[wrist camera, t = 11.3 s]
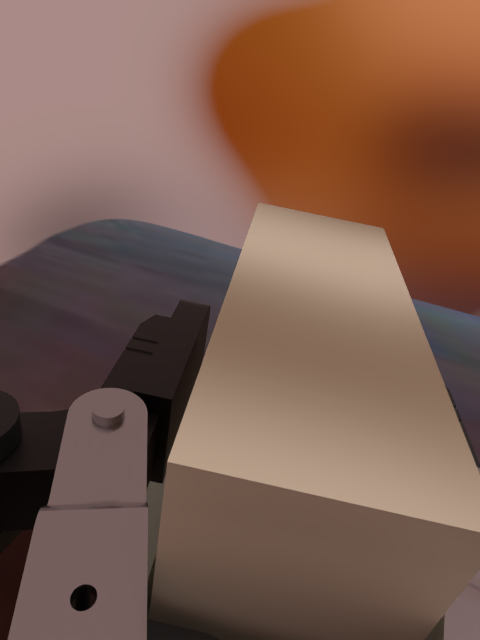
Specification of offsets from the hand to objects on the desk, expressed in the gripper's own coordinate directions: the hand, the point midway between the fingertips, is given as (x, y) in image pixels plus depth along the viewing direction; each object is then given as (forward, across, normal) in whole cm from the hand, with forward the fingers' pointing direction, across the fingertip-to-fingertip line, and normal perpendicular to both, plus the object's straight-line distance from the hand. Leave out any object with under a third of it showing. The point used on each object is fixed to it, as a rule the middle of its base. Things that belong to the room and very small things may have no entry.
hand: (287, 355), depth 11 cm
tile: (-3, 0, +8) cm, 8 cm away
